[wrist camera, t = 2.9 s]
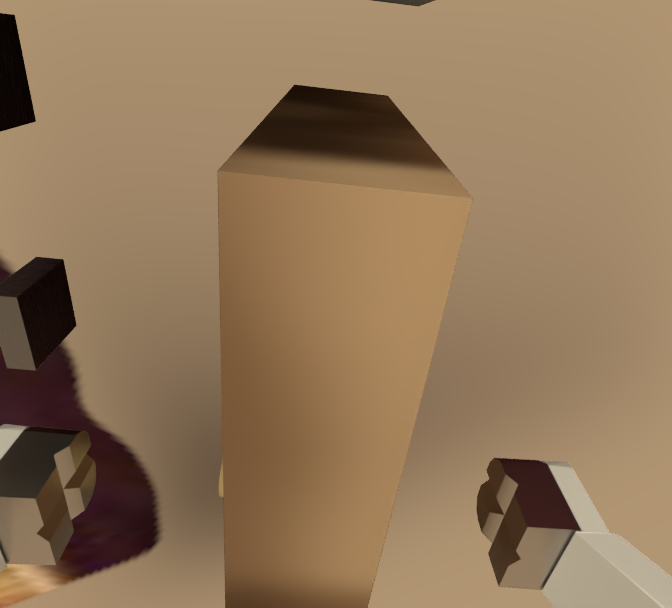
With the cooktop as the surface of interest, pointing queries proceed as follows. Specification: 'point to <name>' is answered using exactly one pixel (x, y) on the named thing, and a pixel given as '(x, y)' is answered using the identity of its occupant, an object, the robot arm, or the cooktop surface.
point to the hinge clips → (41, 273)
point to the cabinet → (407, 2)
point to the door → (325, 338)
